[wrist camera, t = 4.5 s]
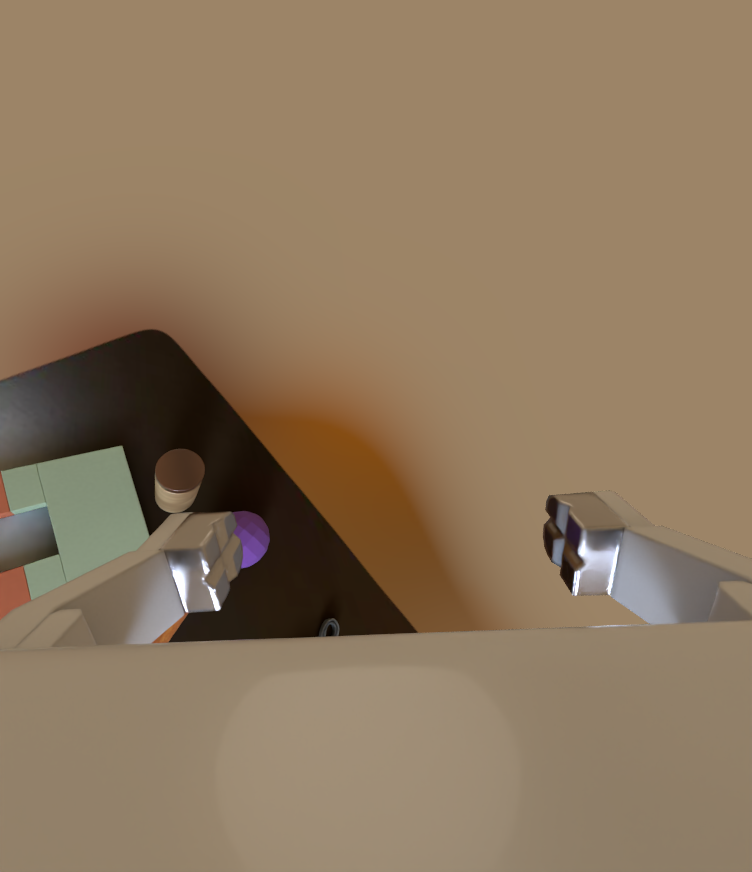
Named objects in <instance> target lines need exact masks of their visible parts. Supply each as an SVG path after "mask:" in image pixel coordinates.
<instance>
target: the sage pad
mask: <svg viewBox="0 0 752 872" xmlns="http://www.w3.org/2000/svg"><path fill="white" fill-rule="evenodd" d="M1 474H2V478H3V483H4V487H5V491H6V495H7V499H8V504H9V508H10V511H11V512H12V513H14V514H20V513H23V512H27V511H31V510H35V509H39V508H42V507H46V506H47V507H48V511H49V515H50V519H51V523H52V527H53V531H54V535H55V539H56V542H57V546H58V550H59V554H57V555H54V556H51V557H48V558H45V559H42V560H39V561H35V562H32V563H29V564H26V565H24V566H23V567H24V571H25V575H26V579H27V583H28V588H29V592H30V596H31V600H33V599H35V598H37V597H39V596H41V595H43V594H45V593H47V592H49V591H51V590H53V589H55V588H57V587H59V586H61V585H63V584H65V583H67V582H69V581H71V580H73V579H75V578H77V577H79V576H81V575H83V574H85V573H87V572H89V571H91V570H93V569H95V568H97V567H99V566H101V565H103V564H105V563H107V562H109V561H112V560H114V559H116V558H118V557H120V556H122V555H124V554H126V553H128V552H130V551H136V550H137V549H138V548H139V547H140V546H141V545H142V544H143V543H144V542H145V541H146V540H147V539H148V538H149V537H150V536H149V533H148V529H147V526H146V523H145V519H144V516H143V513H142V510H141V506H140V503H139V500H138V496H137V493H136V490H135V486H134V483H133V480H132V476H131V473H130V470H129V467H128V463H127V460H126V457H125V453H124V450H123V447H122V446H117V447H112V448H108V449H103V450H98V451H93V452H89V453H84V454H79V455H75V456H70V457H65V458H60V459H56V460H51V461H46V462H41V463H37V464H32V465H27V466H22V467H18V468H13V469H8V470H3V471H1Z"/></svg>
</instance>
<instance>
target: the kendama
mask: <svg viewBox="0 0 752 872" xmlns="http://www.w3.org/2000/svg"><path fill="white" fill-rule="evenodd" d="M233 514H234V515H235V518H236V522H237V527H236V529H235V531H234V534H235V535H236V536H237V537H238V538H239V539H240V540H241V542H242V547H243V560H242V566H241V568H245V567H249V566H251V565H252V564H254V563H256V562H257V561H259V560H260V559H261V557H262V556H263V555H264V554H265V552H266V551H267V547H268V544H269V541H270V539H269V529H268V527H267V525H266V524H265V522H264V520H263V519H262V518H261V517H260V516H258V515H257V514H254V513H251V512H247V511H239V512H233ZM187 614H188V613H185V615H184V616H182V617H181V618H180V619H179V620H178V621H177V622H175V623H174V624H173V625H172V626H171V627H170V628H168V629H167V630H166V631H165V632H164V633H163V634H161V635H160V636H159V637H158V638H157V639H156V640H154V641H153V642H152V643H168V642H169V640H170V639H171V637H172V636H173V634H174V633H175V631H176V630H177V628H178V627H179V626H180V624H181V623H182V621H183V620H184V618H185V617H186V615H187Z"/></svg>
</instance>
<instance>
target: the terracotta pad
mask: <svg viewBox="0 0 752 872" xmlns="http://www.w3.org/2000/svg"><path fill="white" fill-rule="evenodd" d="M12 515H15V514H14V513H12V512H11V511H10V508H9V504H8V499H7V495H6V491H5V487H4V483H3V478H2V474H1V471H0V519H1V518H4V517H8V516H12ZM29 601H31V596H30V592H29V588H28V583H27V579H26V575H25V571H24V567H23V566H20V567H17V568H14V569H11V570H8V571H5V572H2V573H0V620H1V619H2V618H3V617H4V616H6V615H7V614H8V613H9V612H10V611H11V610H13V609H15V608H17V607H19V606H21V605H23V604H25V603H27V602H29Z"/></svg>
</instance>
